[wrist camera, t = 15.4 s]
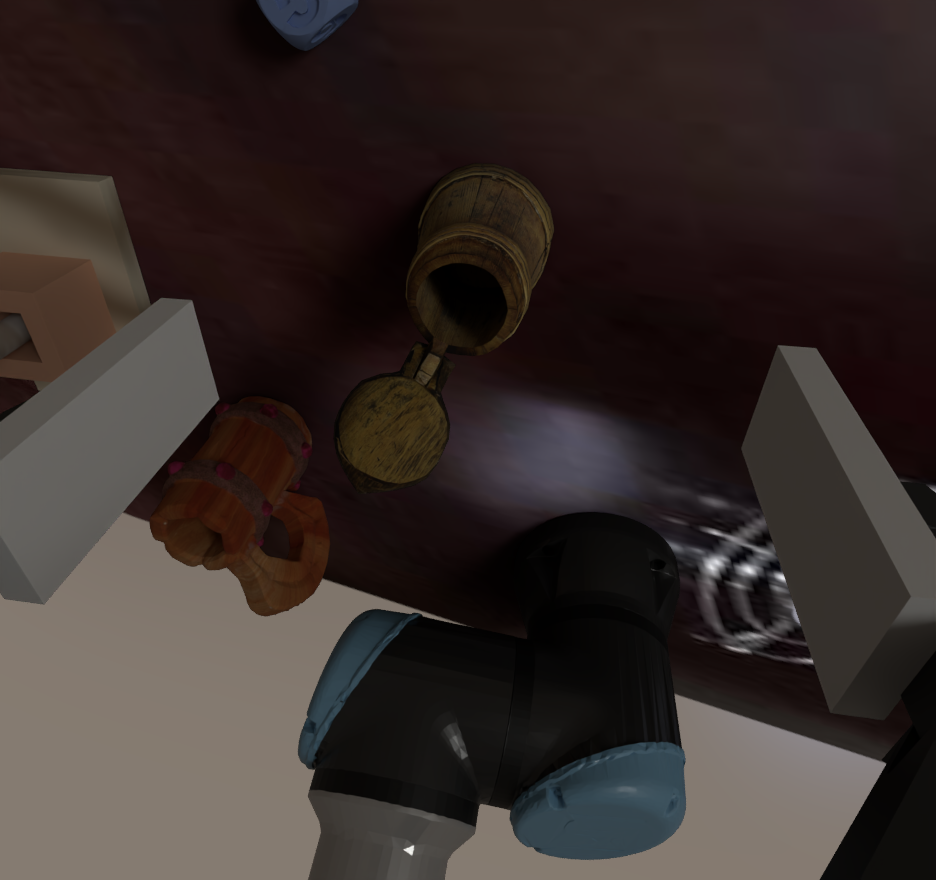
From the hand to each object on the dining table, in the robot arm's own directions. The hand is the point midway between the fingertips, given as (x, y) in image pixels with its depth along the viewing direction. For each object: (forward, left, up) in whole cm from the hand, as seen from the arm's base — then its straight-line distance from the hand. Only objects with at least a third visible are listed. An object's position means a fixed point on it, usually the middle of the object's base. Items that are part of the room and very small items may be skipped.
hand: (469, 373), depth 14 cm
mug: (-27, +19, -29) cm, 44 cm away
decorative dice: (+6, +13, -29) cm, 32 cm away
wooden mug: (-9, +4, -29) cm, 30 cm away
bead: (-14, +35, -27) cm, 46 cm away
